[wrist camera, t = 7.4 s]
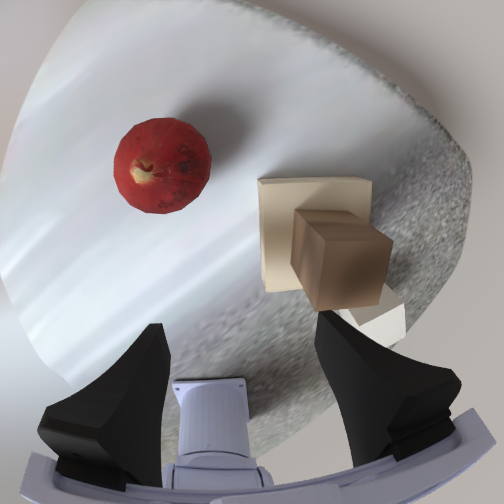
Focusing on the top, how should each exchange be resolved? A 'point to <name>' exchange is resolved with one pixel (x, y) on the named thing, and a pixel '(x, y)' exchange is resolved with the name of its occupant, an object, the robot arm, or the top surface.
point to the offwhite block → (379, 318)
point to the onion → (162, 165)
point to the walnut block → (339, 259)
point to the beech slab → (282, 217)
